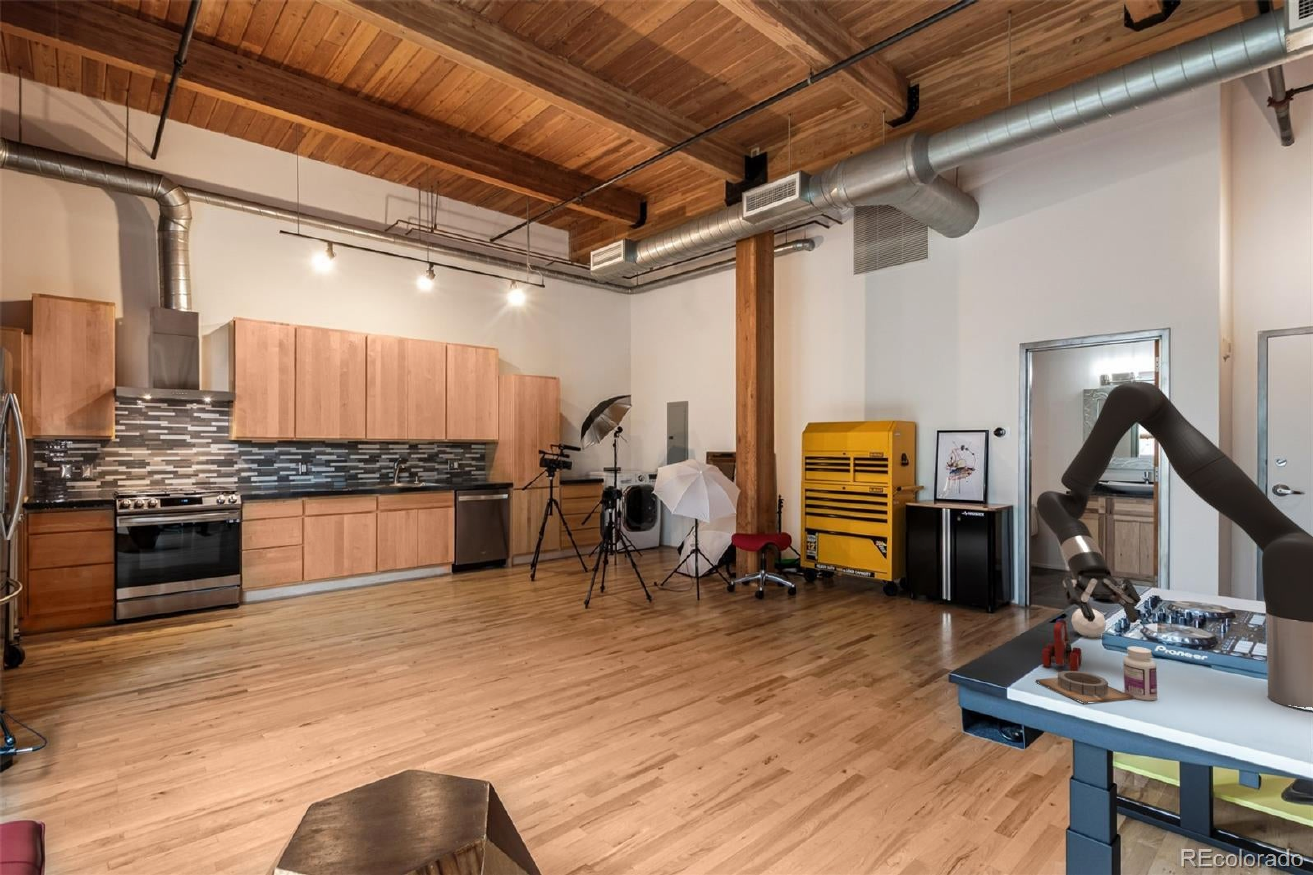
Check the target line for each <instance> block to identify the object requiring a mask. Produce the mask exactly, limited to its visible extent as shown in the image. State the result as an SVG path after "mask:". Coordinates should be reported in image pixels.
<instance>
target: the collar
mask: <svg viewBox="0 0 1313 875" xmlns="http://www.w3.org/2000/svg"><path fill="white" fill-rule="evenodd" d="M1036 682H1039V683H1040V684H1042V685H1044V686H1046V687H1045V688H1047V687H1049V688H1050V689H1049V688H1048V689H1049V690H1051V689H1052V690H1051V691H1053V690H1054V691H1053V692H1055V691H1057V692H1059V693H1058V694H1060V693H1061V694H1060V695H1061V696H1064V697H1066V696H1068V697H1071V698H1073V699H1076V700H1079V701H1081V702H1083V703H1088V702H1102V703H1109V701H1111V702H1117V701H1116V700H1120V701H1127V700H1128V701H1129V700H1133V699H1134V698H1133V696H1131V695H1129V694H1127V693H1125V691H1122V690H1119V689H1117V688H1114V687H1112V686H1109V683H1108V680H1107V679H1106V678H1104V677H1101V676H1099V675H1098V674H1097V675H1096V674H1095V673H1094V674H1093V673H1089V672H1084V671H1080V670H1078V671H1070V670H1063V671H1060V672H1058V673H1057V677H1051V678H1049V677H1048V678H1040V679H1039V678H1038V679H1035V683H1036ZM1040 684H1039V685H1040ZM1042 685H1041V686H1042ZM1044 686H1043V687H1044ZM1057 692H1056V693H1057ZM1068 697H1067V698H1068ZM1073 699H1072V700H1073ZM1107 701H1108V702H1107Z"/></svg>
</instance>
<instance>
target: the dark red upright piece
mask: <svg viewBox="0 0 1313 875" xmlns="http://www.w3.org/2000/svg"><path fill="white" fill-rule="evenodd" d="M1052 630H1053V643H1054V644H1053V643H1049V642H1048V643H1046V648H1043V649H1042V653H1041V654H1042V655H1041V658H1042V659H1041V660H1042V662H1041V663H1042V666H1044V667H1048V668H1051V667H1052V664H1053V663H1052V662H1055V665H1058V666H1065V664H1068V665H1069V671H1079V667H1080V666H1082V660H1083V657H1082V656H1083V655H1082V648H1080V647H1075V646H1074V647H1072V645H1071V644H1069V643H1070V641H1071V639H1070V636H1069V634H1068V629H1067V622H1066V620H1065V619H1063V618H1057V619H1056V621H1055V624H1054V625H1053V629H1052Z"/></svg>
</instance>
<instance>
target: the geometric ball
mask: <svg viewBox="0 0 1313 875" xmlns="http://www.w3.org/2000/svg"><path fill="white" fill-rule="evenodd" d="M1092 610H1093V613H1094V615H1095V619H1094V620H1093V622H1089V621H1088V620H1087V619H1085V618H1084V616H1083V614H1082V611H1081V609H1080V608H1077V609H1076V610H1075V611H1074V612H1073V613H1072V616H1071V624H1072V627H1073V630H1075V631H1076V632H1077V633H1078V634H1080V636H1081V635H1082V636H1083V637H1087V636H1088V638H1090V637H1091V639H1092V638H1097V637H1100V636H1101V635H1102V634H1104V632H1105V631H1106V628H1107V627H1106V626H1107V622H1106V619H1105V616H1104V614H1102V613H1101V612H1099V611H1098V610H1096V609H1094V608H1092Z"/></svg>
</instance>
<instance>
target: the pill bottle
mask: <svg viewBox="0 0 1313 875" xmlns="http://www.w3.org/2000/svg"><path fill="white" fill-rule="evenodd" d="M1126 654H1127V656H1126V657H1124V659H1123V662H1122V663H1123V683H1124V688H1123V689H1124V693H1127V694H1129V695H1131V696H1133V699H1135V700H1136V699H1137V700H1141V701H1154V700H1156V699H1158V680H1157V676H1158V675H1157V663H1156V662H1155V661H1154V660H1152V659H1151V658H1152V650H1151V649H1149V648H1145V647H1142V646H1133V645H1132V646H1128V647H1127V648H1126Z"/></svg>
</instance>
